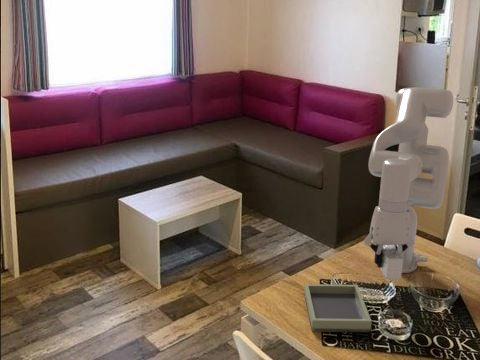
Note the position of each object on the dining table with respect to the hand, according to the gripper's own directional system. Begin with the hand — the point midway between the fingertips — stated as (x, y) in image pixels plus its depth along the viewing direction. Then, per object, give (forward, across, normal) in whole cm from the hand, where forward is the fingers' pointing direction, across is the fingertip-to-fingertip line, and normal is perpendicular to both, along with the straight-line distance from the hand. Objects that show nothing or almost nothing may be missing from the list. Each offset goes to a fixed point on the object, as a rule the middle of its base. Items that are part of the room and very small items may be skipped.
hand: (386, 265), depth 160 cm
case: (+15, +13, -1) cm, 20 cm away
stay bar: (+1, 0, 0) cm, 1 cm away
